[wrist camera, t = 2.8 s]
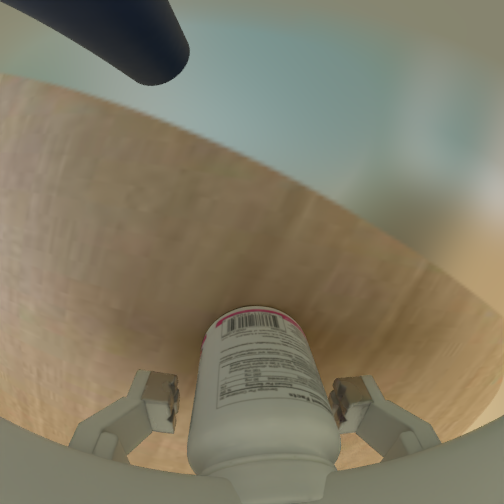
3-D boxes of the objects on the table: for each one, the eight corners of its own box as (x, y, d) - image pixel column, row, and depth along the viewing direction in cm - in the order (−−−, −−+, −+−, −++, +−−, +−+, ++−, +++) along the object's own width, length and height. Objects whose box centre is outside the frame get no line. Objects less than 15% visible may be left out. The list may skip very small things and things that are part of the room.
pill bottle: (263, 396, 14) (279, 544, 6) (183, 355, 13) (148, 522, 5) (327, 335, 13) (395, 495, 5) (243, 281, 12) (252, 479, 4)
